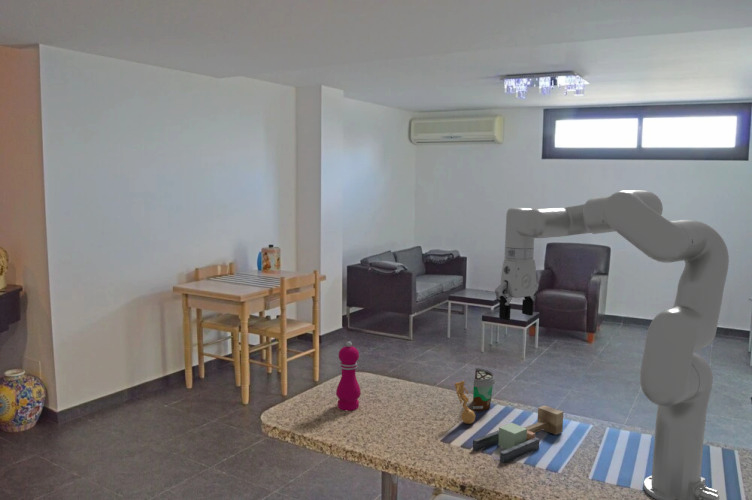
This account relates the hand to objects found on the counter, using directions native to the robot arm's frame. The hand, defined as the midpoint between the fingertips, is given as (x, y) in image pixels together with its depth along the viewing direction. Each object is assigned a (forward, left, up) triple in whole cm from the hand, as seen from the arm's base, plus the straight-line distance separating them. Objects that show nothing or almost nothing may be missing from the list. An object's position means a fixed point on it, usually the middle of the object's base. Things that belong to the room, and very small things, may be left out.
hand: (516, 316), depth 166 cm
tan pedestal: (-8, -1, -31) cm, 32 cm away
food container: (+15, -6, -31) cm, 35 cm away
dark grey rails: (-8, +12, -31) cm, 34 cm away
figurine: (+10, +8, -31) cm, 34 cm away
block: (-8, +10, -31) cm, 34 cm away
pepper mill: (+39, +27, -31) cm, 57 cm away
